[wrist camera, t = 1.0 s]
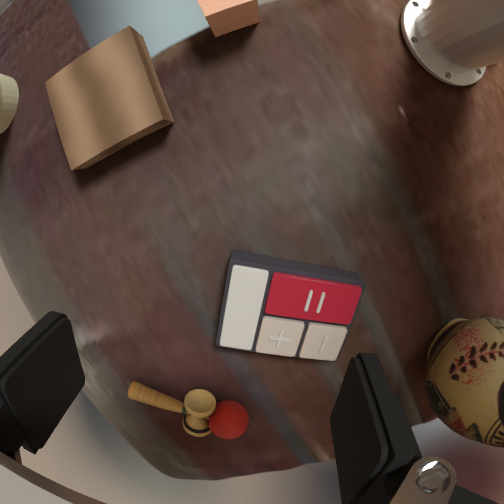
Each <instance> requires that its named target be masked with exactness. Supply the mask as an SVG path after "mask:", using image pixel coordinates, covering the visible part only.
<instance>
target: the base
mask: <svg viewBox="0 0 504 504" xmlns="http://www.w3.org/2000/svg"><path fill="white" fill-rule="evenodd" d="M45 83H46V88H47V92H48V96H49V100H50V103H51V107H52V111H53V114H54V118H55V122H56V125H57V128H58V132H59V135H60V138H61V141H62V144H63V148H64V151H65V154H66V157H67V160H68V162H69V165H70V168H71V171H72V170H78V169H84V168H89V167H90V166H92V165H94V164H95V163H97V162H99V161H101V160H102V159H104V158H106V157H107V156H109V155H111V154H113V153H115V152H116V151H118V150H120V149H122V148H124V147H126V146H127V145H129V144H131V143H133V142H135V141H137V140H139V139H141V138H143V137H145V136H147V135H149V134H151V133H153V132H155V131H157V130H159V129H161V128H163V127H165V126H167V125H169V124H171V123H173V122H174V120H173V118H172V115H171V112H170V110H169V107H168V105H167V102H166V99H165V97H164V94H163V91H162V89H161V86H160V83H159V81H158V78H157V75H156V73H155V70H154V67H153V65H152V62H151V57H150V54H149V51H148V49H147V46H146V43H145V41H144V38H143V36H142V35H140V34H139V33H138V32H137V31H135V30H134V29H133V28H132V27H130V26H128V27H127V28H125V29H123V30H122V31H120V32H118V33H116V34H114V35H113V36H111V37H109V38H108V39H106V40H104V41H103V42H101V43H100V44H98V45H97V46H95V47H93V48H92V49H90V50H89V51H87V52H86V53H84V54H83V55H81V56H80V57H79V58H77V59H76V60H74V61H73V62H71V63H70V64H69V65H67V66H66V67H65V68H63V69H62V70H61V71H59V72H58V73H57V74H55V75H54V76H53V77H51V78H50V79H49V80H48V81H46V82H45Z"/></svg>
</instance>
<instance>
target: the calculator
mask: <svg viewBox="0 0 504 504" xmlns="http://www.w3.org/2000/svg"><path fill="white" fill-rule="evenodd" d="M364 288H365V283H364V281H363V280H362V279H361V277H360V276H359V275H358V274H357V273H354V272H349V271H344V270H339V269H333V268H328V267H323V266H318V265H312V264H306V263H301V262H295V261H289V260H284V259H278V258H273V257H270V256H266V255H261V254H256V253H251V252H246V251H240V250H232V251H231V254H230V259H229V264H228V270H227V276H226V282H225V288H224V294H223V300H222V306H221V312H220V318H219V325H218V331H217V337H216V345H217V346H219V347H224V348H230V349H237V350H243V351H250V352H257V353H264V354H271V355H279V356H288V357H296V358H306V359H316V360H327V361H336V360H337V359H338V357H339V355H340V352H341V350H342V347H343V345H344V342H345V340H346V337H347V335H348V332H349V330H350V327H351V324H352V322H353V319H354V316H355V313H356V311H357V308H358V305H359V302H360V299H361V297H362V294H363V291H364Z"/></svg>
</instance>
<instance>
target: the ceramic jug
mask: <svg viewBox="0 0 504 504" xmlns="http://www.w3.org/2000/svg"><path fill="white" fill-rule="evenodd" d="M427 362H428V363H427V365H428V367H427V373H426V392H427V397H428V400H429V403H430V406H431V408H432V410H433V411H434V413H435V414H436V415H437V416H438V418H439V419H440V420H441V421H442V422H443V423H444V424H446V425H447V426H448V427H449V428H450V429H451V430H453V431H454V432H456V433H458V434H459V435H461V436H463V437H466V438H468V439H471V440H474V441H477V442H480V443H483V444H487V445H490V446H495V447H504V321H503V320H501V319H498V318H493V317H488V316H483V317H479V318H475V319H470V320H468V319H463V318H455V319H453V320H451V321H450V322H449V323H448V324H447V325H446V326H444V327H443V328H442V329H441V330H440V331H439V332H438V333H437V335H436V336H435V338H434V340H433V341H432V343H431V345H430V346H429V349H428V355H427Z"/></svg>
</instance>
